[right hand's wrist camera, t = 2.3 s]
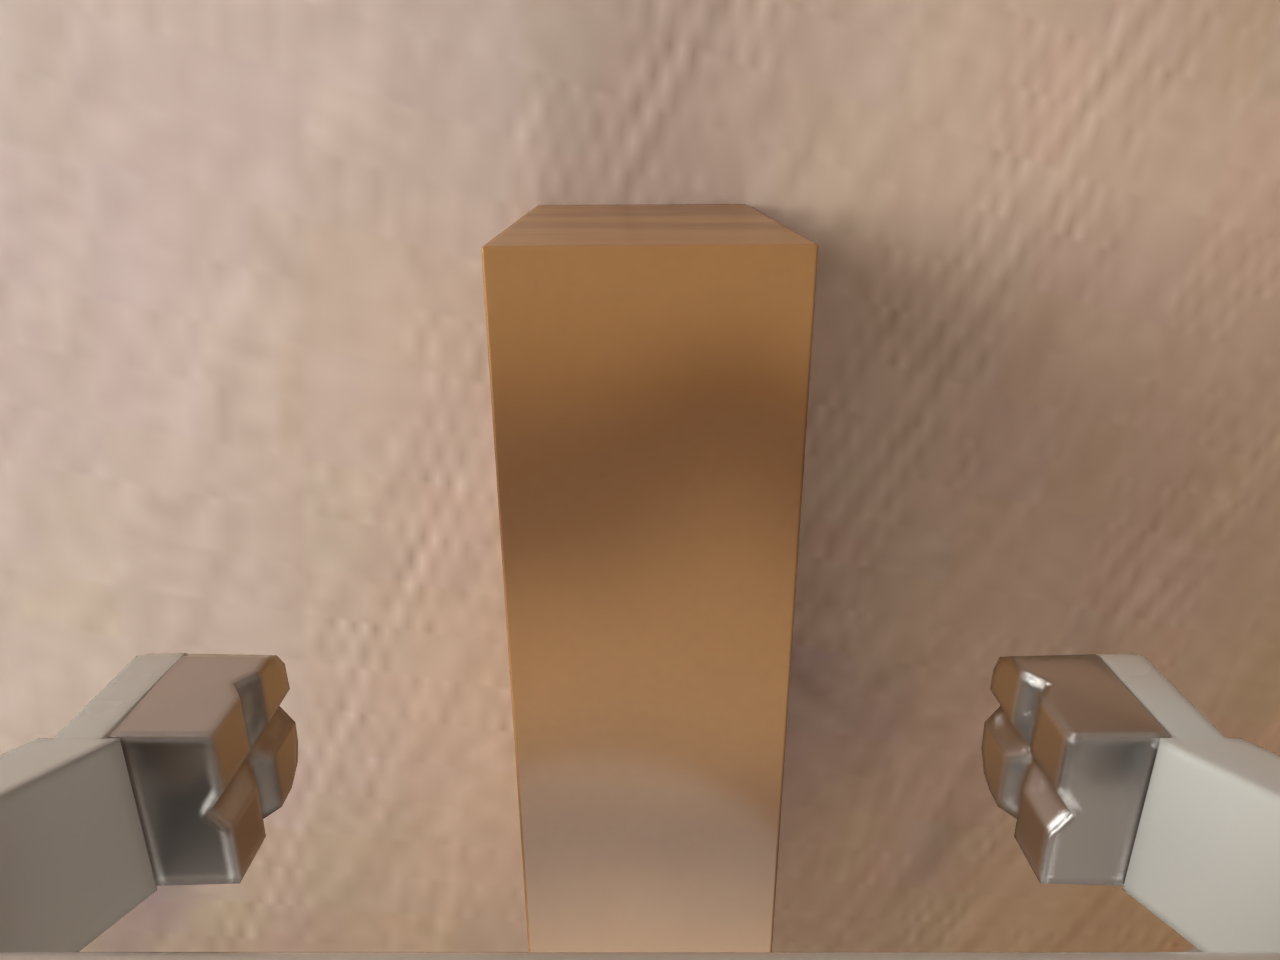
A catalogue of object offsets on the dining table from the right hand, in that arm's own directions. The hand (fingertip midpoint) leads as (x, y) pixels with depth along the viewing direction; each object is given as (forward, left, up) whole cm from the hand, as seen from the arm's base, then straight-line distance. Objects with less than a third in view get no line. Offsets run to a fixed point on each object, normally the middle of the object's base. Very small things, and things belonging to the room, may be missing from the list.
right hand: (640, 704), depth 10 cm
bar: (+8, 0, -16) cm, 18 cm away
